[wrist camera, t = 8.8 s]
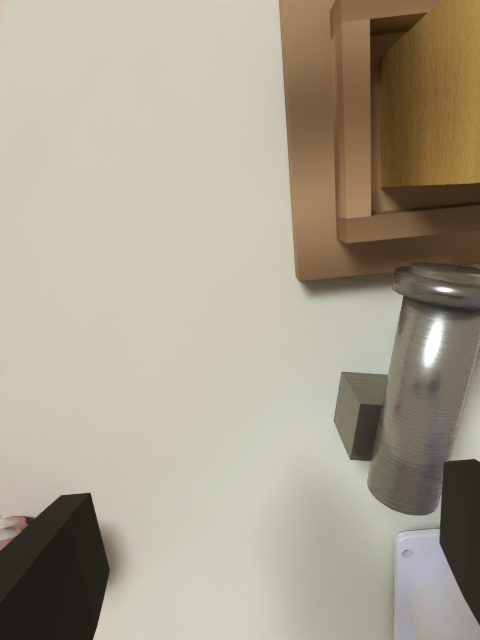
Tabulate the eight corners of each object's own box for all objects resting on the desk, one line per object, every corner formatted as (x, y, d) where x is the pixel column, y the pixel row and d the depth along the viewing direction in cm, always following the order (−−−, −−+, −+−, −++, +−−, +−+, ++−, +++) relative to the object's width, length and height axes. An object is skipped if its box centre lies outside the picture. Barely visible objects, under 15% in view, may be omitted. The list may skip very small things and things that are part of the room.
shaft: (361, 248, 16) (422, 275, 11) (441, 254, 16) (541, 284, 11) (332, 426, 19) (371, 521, 13) (402, 431, 19) (469, 527, 13)
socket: (548, 250, 16) (602, 260, 14) (295, 276, 17) (305, 290, 14) (586, -59, 13) (662, -114, 11) (277, -23, 14) (286, -69, 11)
